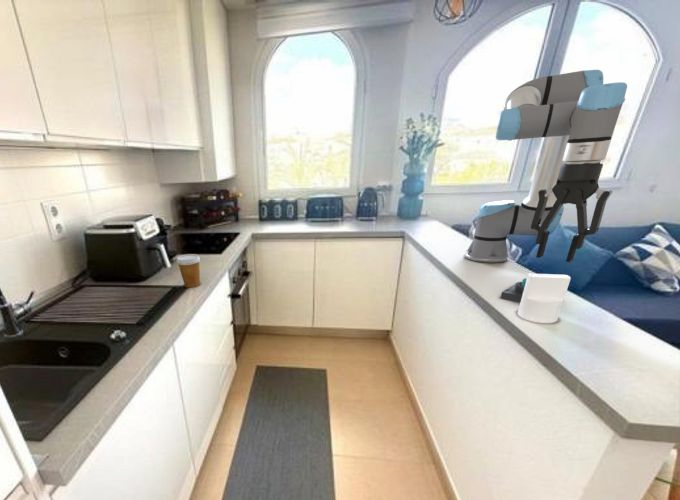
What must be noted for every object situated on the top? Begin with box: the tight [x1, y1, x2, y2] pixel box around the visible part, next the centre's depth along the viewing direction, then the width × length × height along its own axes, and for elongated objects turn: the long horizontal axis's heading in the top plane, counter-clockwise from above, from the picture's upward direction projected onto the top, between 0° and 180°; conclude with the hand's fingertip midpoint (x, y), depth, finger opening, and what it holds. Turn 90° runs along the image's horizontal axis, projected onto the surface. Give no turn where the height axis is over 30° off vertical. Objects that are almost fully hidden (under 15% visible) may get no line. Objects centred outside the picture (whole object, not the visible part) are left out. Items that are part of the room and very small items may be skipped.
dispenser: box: [500, 281, 524, 304], centre depth 108 cm, size 12×10×4 cm
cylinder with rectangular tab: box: [517, 273, 572, 324], centre depth 94 cm, size 9×9×12 cm
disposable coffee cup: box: [176, 253, 201, 288], centre depth 142 cm, size 10×10×12 cm
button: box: [521, 277, 527, 287], centre depth 107 cm, size 4×4×2 cm
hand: (554, 258), depth 90 cm, fingers open, 6 cm apart
